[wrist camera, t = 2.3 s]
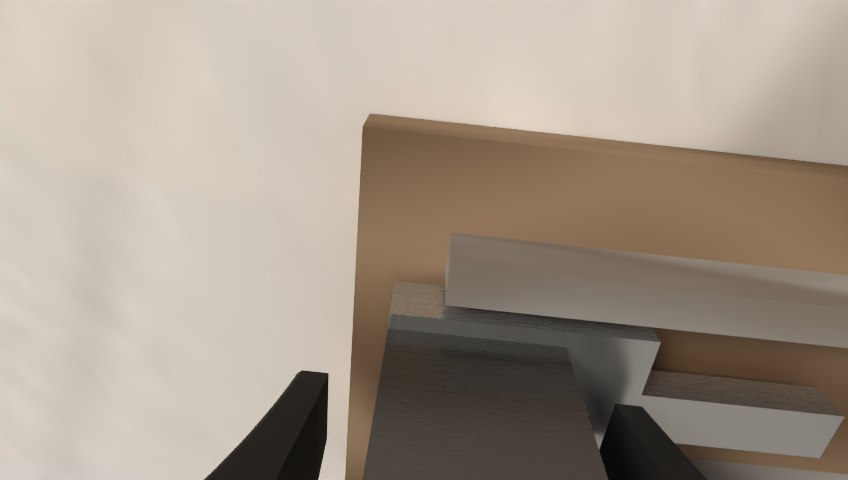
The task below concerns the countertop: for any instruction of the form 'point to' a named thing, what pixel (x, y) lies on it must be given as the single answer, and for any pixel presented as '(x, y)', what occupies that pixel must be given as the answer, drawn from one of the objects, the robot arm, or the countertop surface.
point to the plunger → (554, 396)
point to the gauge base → (613, 258)
